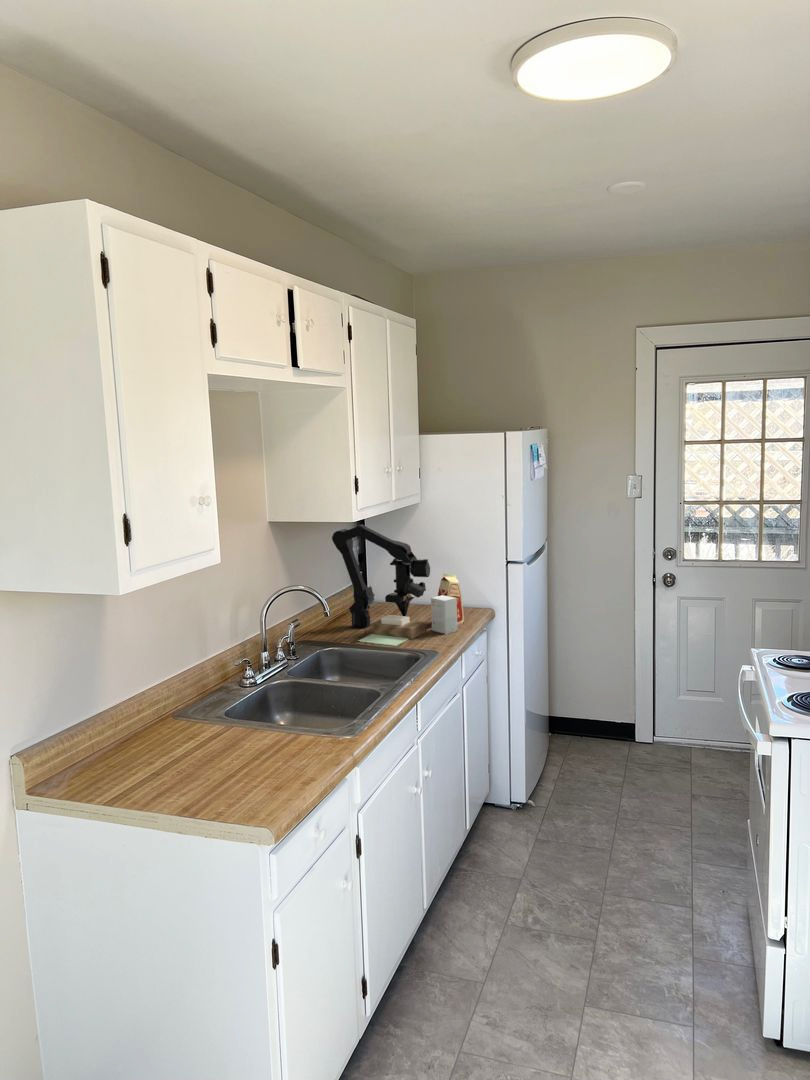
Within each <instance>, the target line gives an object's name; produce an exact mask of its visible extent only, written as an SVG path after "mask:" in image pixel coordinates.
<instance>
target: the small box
mask: <svg viewBox="0 0 810 1080" xmlns="http://www.w3.org/2000/svg"><path fill="white" fill-rule="evenodd" d="M430 608H431V611H430V613H431V614H430V615H431V616H430V617H431V618H430V619H431V631H433V632H436V633H440V634H443V635H448V634H452V633H456V632H458V624H457V598H453V597H449V596H444V595H441V596H438V595H437V596H431V597H430Z"/></svg>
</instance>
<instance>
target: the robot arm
mask: <svg viewBox="0 0 810 1080" xmlns="http://www.w3.org/2000/svg"><path fill="white" fill-rule="evenodd" d="M357 537H361V538H363V539H365V540H366V541H368V542H370V543H372V544H374V545H376V546H378V547H380V548H382V549H383V550H385V551H387V552H388V554H389V555H390V556H391V557H393V560H392V561H390V563H389V565H390V566H394V568H395V569H394V570H395V579H393V583H395V589H394V590H393V592H391V593H388V594H387V595H386V596H385V599H384V600H385V602H386V603H391V604H392V603H395V605H396V606H397V608H398V610H399V612H400V613H401V616H406V617H407V613H408V609H409V606H410V604H411V602H412V601H413V599H415V597H416V598H420V597H423V596H424V592H426V591H427V587H426V583H425V582H423V581H421V582H419V583H418V582H416V583H415V582H414V579H413V578H411V576H413V577H414V578H429V577H430V575H431V566H430V563H429V559H427V558H424V559H418V558H417V557H416V555H415V554H414V553H413V551H412V548H411V546H410V545H409V544H408V543H406V542H402V541H399V540H394V539H391V538H389V537H387V536H385V535H384V534H381V533H380V532H377V531H375V530H374V529H371V528H369V527H368V526H366V525H365V524H359V525H357V526H355V527H353V528H350V529H347V528H342V529H339V530H337V531H335V532H333V534H332V536H331V541H332V542H333V544H334V546H335V548H336V550H337V551H339V553H340V555H341V556H342V559H343V562H344V564H345V567H346V569H347V574H348V575H349V576H348V577H349V579H350V581H351V584H352V588H353V595H352V597H353V599H354V600H353V601H354V602H353V604H351V605H350V606H349V612H350V614H351V625H349V627H350V628H357V629H365V628H368V627H370V624H371V615H370V611H369V610H368V609H370V608H371V607H370V606H371V605H373V604H374V601H375V593H374V592H373V587H372V586H371V585H370V586H367V584H366V583H365V581H364V578H363V575H362V572H361V569H360V567H359V564H358V561H357V558H356V556H355V552H354V549H353V548H354V541H353V538H357Z"/></svg>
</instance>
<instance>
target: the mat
mask: <svg viewBox="0 0 810 1080" xmlns="http://www.w3.org/2000/svg"><path fill="white" fill-rule="evenodd" d="M408 640H410V639H409V638H401V637H392V636H383V635H375V634H369V635H366V636H365V637H363V638H361V639H359V640H358V641H360V642H359V643H365V642H367V644H373V643H374V644H375V645H382V644H383V646H390V647H391V646H392V647H397V646H400V645H401V644H403V643H405V642H406V641H408Z"/></svg>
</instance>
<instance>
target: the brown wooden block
mask: <svg viewBox="0 0 810 1080" xmlns="http://www.w3.org/2000/svg"><path fill="white" fill-rule="evenodd" d="M369 631H370V634H369V635H371V634H375V635H383V636H392V637H401V638H409V640H413V639H415V638H417V637H419V636H421V635H423V634H425V622H423V621H417V620H415V621H413V620H410V622H409V623H406V624H404V625H402V626H401V625H391V624H382V623H381V618H380V619H379V620H376V621H374V622H370V626H369Z"/></svg>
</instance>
